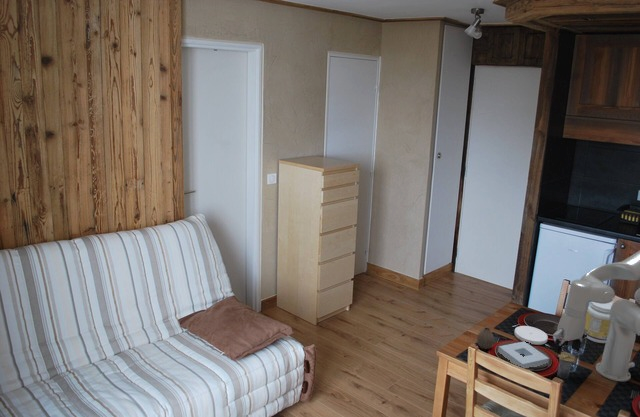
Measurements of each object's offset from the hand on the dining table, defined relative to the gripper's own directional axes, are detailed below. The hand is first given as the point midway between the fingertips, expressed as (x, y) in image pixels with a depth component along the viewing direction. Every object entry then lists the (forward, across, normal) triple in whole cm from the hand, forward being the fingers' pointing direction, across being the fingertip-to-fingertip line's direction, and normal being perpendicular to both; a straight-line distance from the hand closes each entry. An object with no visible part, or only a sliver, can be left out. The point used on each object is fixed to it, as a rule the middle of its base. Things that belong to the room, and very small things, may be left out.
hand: (566, 351), depth 211 cm
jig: (+12, +7, -14) cm, 19 cm away
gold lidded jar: (+11, -1, 0) cm, 11 cm away
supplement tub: (+10, -42, -19) cm, 47 cm away
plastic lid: (+12, -11, -28) cm, 32 cm away
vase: (+12, +15, -28) cm, 34 cm away
